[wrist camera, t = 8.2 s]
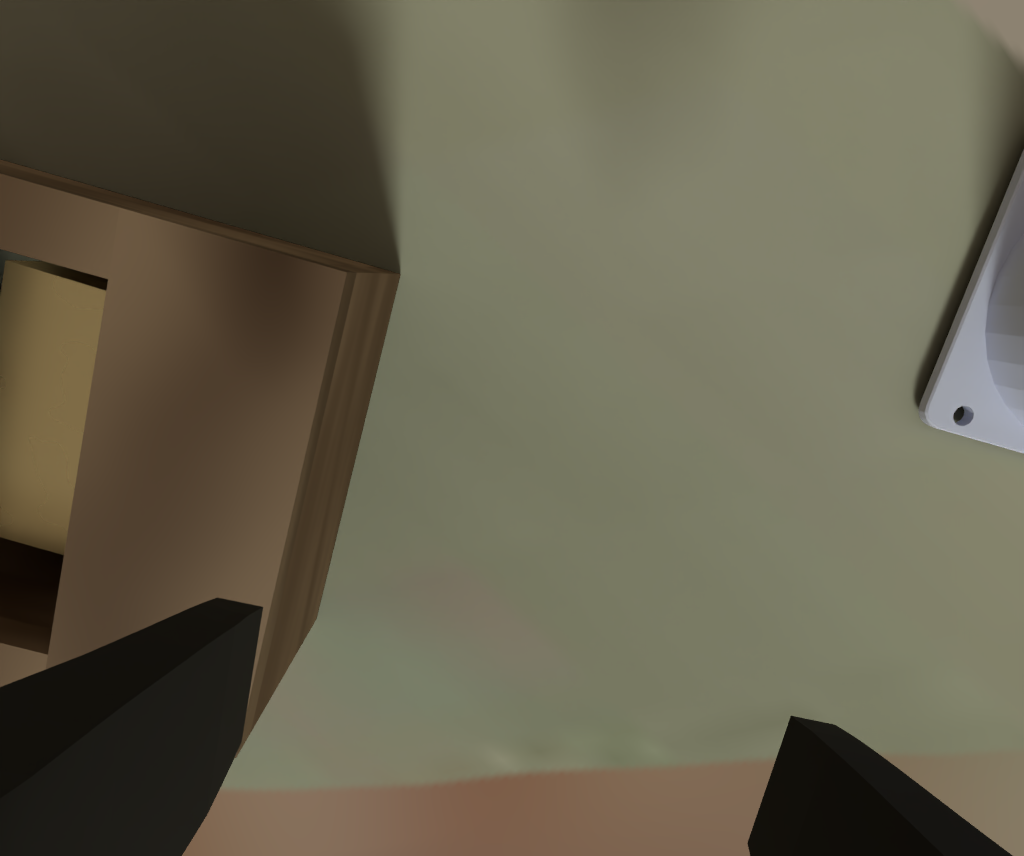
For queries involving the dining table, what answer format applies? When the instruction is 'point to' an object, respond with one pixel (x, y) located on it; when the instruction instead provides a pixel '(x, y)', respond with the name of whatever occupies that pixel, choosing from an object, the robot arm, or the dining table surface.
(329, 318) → the box
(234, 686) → the robot arm
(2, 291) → the gold metal block
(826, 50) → the dining table surface
